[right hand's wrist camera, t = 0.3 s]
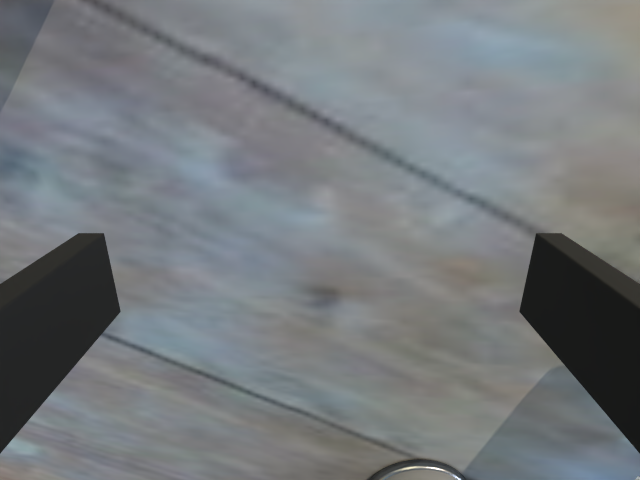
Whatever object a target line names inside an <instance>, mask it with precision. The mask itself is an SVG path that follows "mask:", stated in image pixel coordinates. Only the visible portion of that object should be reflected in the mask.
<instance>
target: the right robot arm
mask: <svg viewBox="0 0 640 480" xmlns="http://www.w3.org/2000/svg"><path fill="white" fill-rule="evenodd" d="M120 312H121V311H120V307H119V302H118V297H117V293H116V288H115V283H114V279H113V274H112V269H111V265H110V260H109V255H108V251H107V246H106V241H105V237H104V233H78V234H77V235H75V236H74V237H72V238H71V239H69V240H68V241H66V242H65V243H63V244H61V245H60V246H58V247H57V248H55V249H54V250H52V251H51V252H49V253H48V254H46V255H45V256H43V257H41V258H40V259H38V260H37V261H35V262H34V263H32V264H31V265H29V266H28V267H26V268H25V269H23V270H21V271H20V272H18V273H17V274H15V275H14V276H12V277H11V278H9V279H8V280H6V281H4V282H3V283H1V284H0V453H1V452H2V451H3V449H4V448H5V447H6V446H7V445H8V444H9V442H10V441H11V440H12V439H13V438H14V437H15V435H16V434H17V433H18V432H19V431H20V429H21V428H22V427H23V426H24V425H25V424H26V422H27V421H28V420H29V419H30V418H31V417H32V415H33V414H34V413H35V412H36V411H37V409H38V408H39V407H40V406H41V405H42V404H43V402H44V401H45V400H46V399H47V398H48V396H49V395H50V394H51V393H52V392H53V391H54V389H55V388H56V387H57V386H58V385H59V384H60V382H61V381H62V380H63V379H64V378H65V376H66V375H67V374H68V373H69V372H70V371H71V369H72V368H73V367H74V366H75V365H76V364H77V362H78V361H79V360H80V359H81V358H82V356H83V355H84V354H85V353H86V352H87V351H88V349H89V348H90V347H91V346H92V345H93V343H94V342H95V341H96V340H97V339H98V338H99V336H100V335H101V334H102V333H103V332H104V331H105V329H106V328H107V327H108V326H109V325H110V323H111V322H112V321H113V320H114V319H115V318H116V316H117V315H118V314H119V313H120ZM519 312H520V313H521V314H522V315H523V316H524V318H525V319H526V320H527V321H528V322H529V323H530V325H531V326H532V327H533V328H534V329H535V331H536V332H537V333H538V334H539V335H540V336H541V338H542V339H543V340H544V341H545V342H546V343H547V345H548V346H549V347H550V348H551V349H552V351H553V352H554V353H555V354H556V355H557V356H558V358H559V359H560V360H561V361H562V362H563V364H564V365H565V366H566V367H567V368H568V369H569V371H570V372H571V373H572V374H573V375H574V376H575V378H576V379H577V380H578V381H579V382H580V384H581V385H582V386H583V387H584V388H585V389H586V391H587V392H588V393H589V394H590V395H591V396H592V398H593V399H594V400H595V401H596V402H597V404H598V405H599V406H600V407H601V408H602V409H603V411H604V412H605V413H606V414H607V415H608V417H609V418H610V419H611V420H612V421H613V422H614V424H615V425H616V426H617V427H618V428H619V429H620V431H621V432H622V433H623V434H624V435H625V437H626V438H627V439H628V440H629V441H630V442H631V444H632V445H633V446H634V447H635V448H636V449H637V451H638V452H639V453H640V284H639V283H637V282H636V281H634V280H632V279H631V278H629V277H628V276H626V275H625V274H623V273H622V272H620V271H619V270H617V269H615V268H614V267H612V266H611V265H609V264H608V263H606V262H605V261H603V260H602V259H600V258H599V257H597V256H595V255H594V254H592V253H591V252H589V251H588V250H586V249H585V248H583V247H582V246H580V245H579V244H577V243H575V242H574V241H572V240H571V239H569V238H568V237H566V236H565V235H563V234H562V233H536V237H535V241H534V246H533V251H532V255H531V260H530V265H529V269H528V274H527V279H526V283H525V288H524V293H523V297H522V302H521V307H520V311H519ZM370 480H466V479H465V478H464V477H463V475H462V474H461V473H460V472H458V471H457V470H456V469H454V468H453V467H451V466H449V465H446V464H444V463H441V462H437V461H432V460H408V461H403V462H399V463H396V464H393V465H390V466H388V467H386V468H384V469H382V470H381V471H379V472H378V473H376V474H375V475H374V476H373V477H371V479H370Z"/></svg>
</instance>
